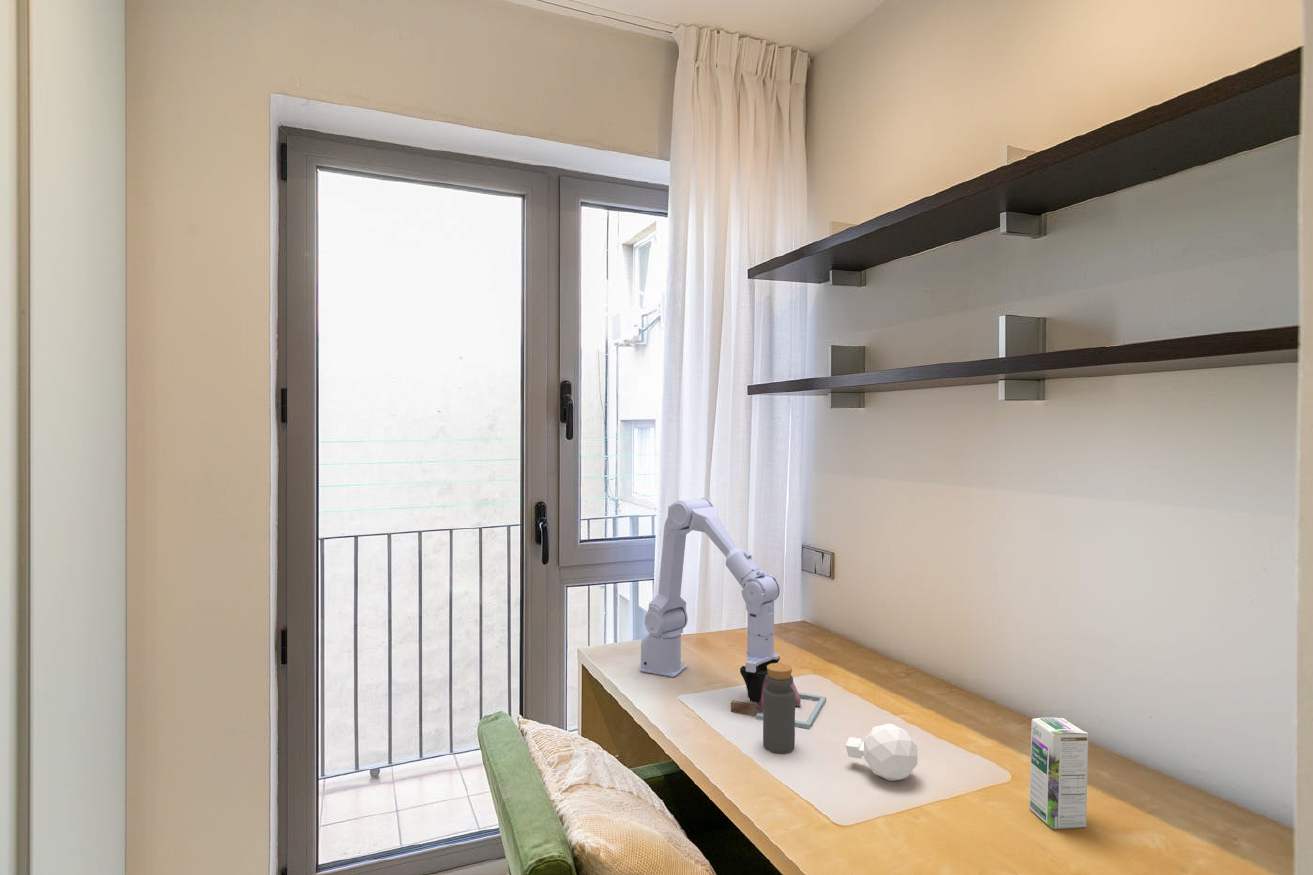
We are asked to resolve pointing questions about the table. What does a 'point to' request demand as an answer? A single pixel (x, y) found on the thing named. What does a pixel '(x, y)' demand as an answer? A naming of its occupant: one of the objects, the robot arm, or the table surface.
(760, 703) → the video game controller
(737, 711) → the wooden blocks
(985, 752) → the table surface
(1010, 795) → the table surface
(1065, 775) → the syrup box
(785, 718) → the bottle
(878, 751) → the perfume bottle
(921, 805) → the table surface
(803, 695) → the frame
